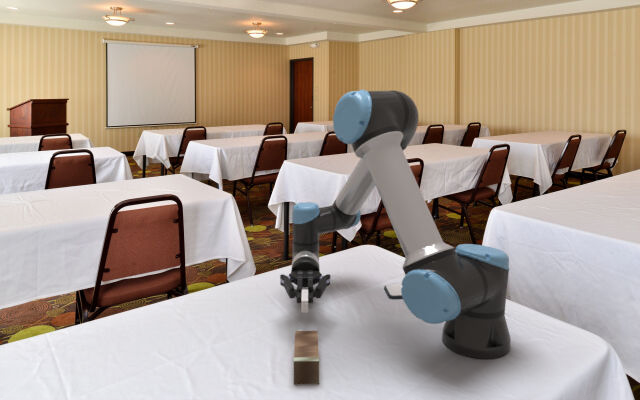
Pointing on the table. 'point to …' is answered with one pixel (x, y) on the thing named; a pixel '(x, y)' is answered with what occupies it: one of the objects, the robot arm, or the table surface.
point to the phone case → (393, 291)
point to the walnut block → (306, 357)
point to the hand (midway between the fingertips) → (304, 306)
